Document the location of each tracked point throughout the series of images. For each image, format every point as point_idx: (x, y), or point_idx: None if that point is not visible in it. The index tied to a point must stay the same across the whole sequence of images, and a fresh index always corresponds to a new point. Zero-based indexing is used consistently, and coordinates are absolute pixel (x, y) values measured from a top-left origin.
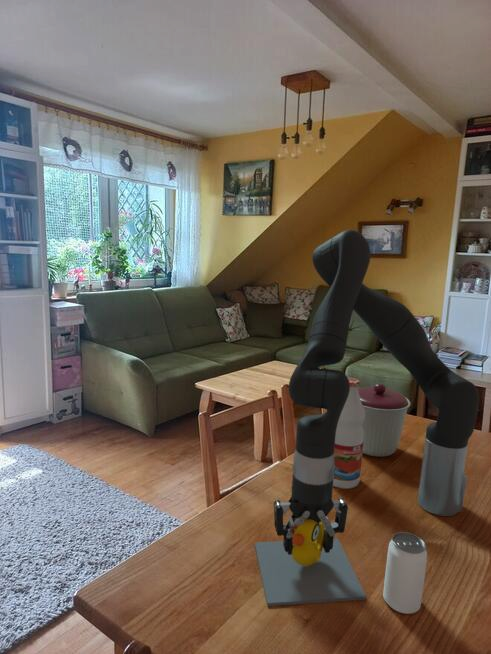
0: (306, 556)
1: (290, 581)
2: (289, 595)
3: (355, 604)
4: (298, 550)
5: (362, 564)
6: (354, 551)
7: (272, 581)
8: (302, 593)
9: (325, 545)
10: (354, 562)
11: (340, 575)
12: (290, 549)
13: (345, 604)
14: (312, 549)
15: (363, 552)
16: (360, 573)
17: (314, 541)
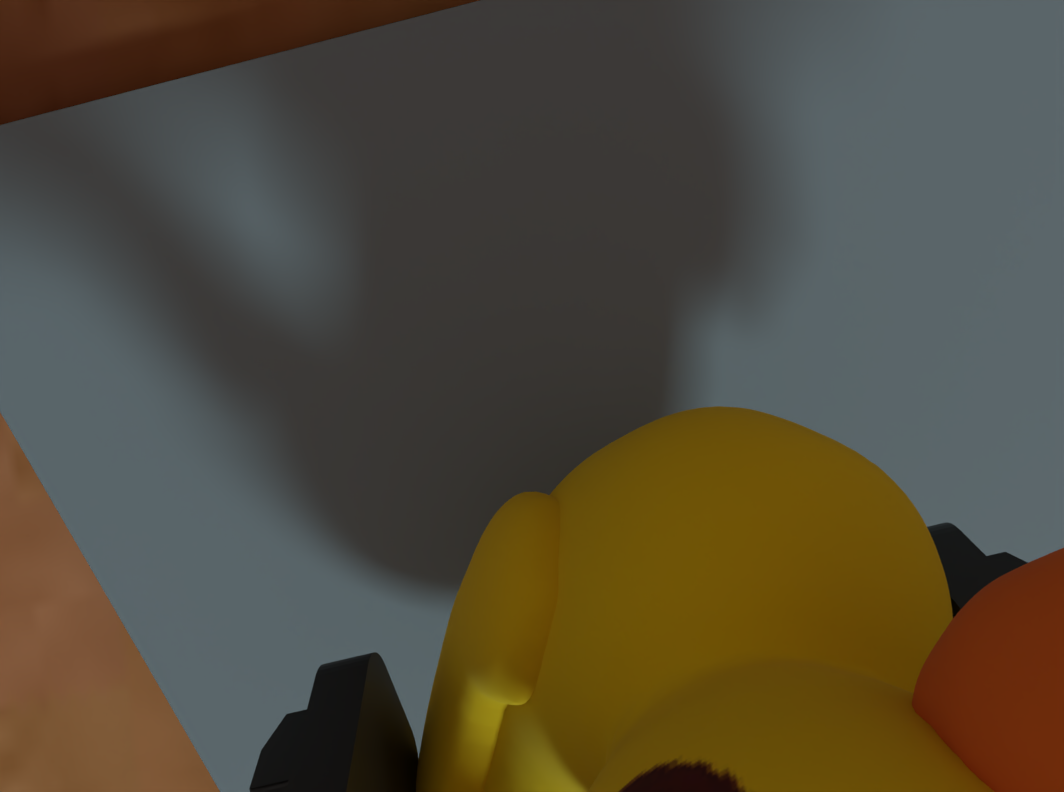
0: (724, 469)
1: (805, 261)
2: (851, 18)
3: (6, 49)
4: (891, 550)
5: (11, 647)
6: (112, 780)
7: (1016, 229)
8: (679, 84)
9: (378, 756)
10: (96, 657)
11: (217, 448)
12: (973, 581)
13: (133, 28)
14: (621, 615)
15: (23, 783)
16: (14, 532)
17: (614, 771)
